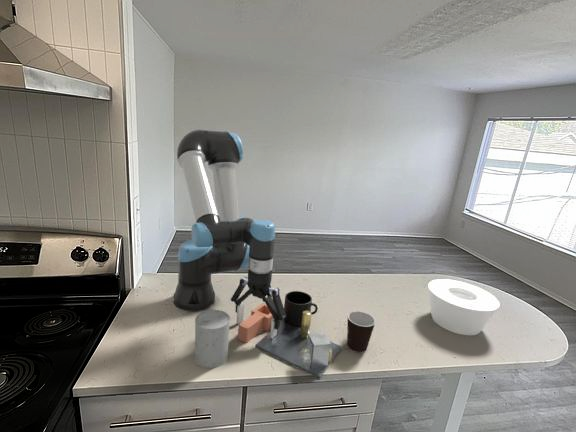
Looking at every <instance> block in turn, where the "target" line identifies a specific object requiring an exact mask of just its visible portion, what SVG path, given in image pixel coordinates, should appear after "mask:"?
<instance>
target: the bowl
mask: <svg viewBox="0 0 576 432" xmlns="http://www.w3.org/2000/svg"><path fill="white" fill-rule="evenodd" d="M427 285H428V294H429V295H428V296H429V305H430V314H431V318H432V320H433V322H435V323H436V324H437V325H438V326H440V327H441V328H443V329H445V330H447V331H449V332H451V333H455V334H458V335H462V336H476V335H479V334H480V333H481V332H482V331H483V329H484V327H486V325H487V323H488V322H489V321H490V320H491V318H492V317H493V316H494V314H495V313H496V312H497V310H498V309H499V307H500V304H501V303H500V301H499V300H498V299H497V298H496V296H495V295H494V294H492V293H490V292H489V291H487V290H484V288H481V287H479V286H476V285H473V284H470V283H467V282H464V281H460V280H455V279H447V278H445V279H444V278H440V279H439V278H437V279H432V280H431V281H430V282H428V284H427Z"/></svg>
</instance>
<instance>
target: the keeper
mask: <svg viewBox="0 0 576 432" xmlns="http://www.w3.org/2000/svg"><path fill="white" fill-rule="evenodd" d="M308 338H309V340H310V342H311V344H312V346H313V347H312V355H311V363H310V366H311V368H314V367H323V366H328V362H331V356H332V350H331V349H330V346H331V343H330V342H331V341H330V340H329V337H328V336H327V334H326V333H325V332H323V331H321V332H320V331H319V332H309V333H308ZM329 341H330V342H329ZM331 363H332V362H331ZM328 367H329V366H328Z"/></svg>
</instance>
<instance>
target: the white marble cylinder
mask: <svg viewBox="0 0 576 432" xmlns="http://www.w3.org/2000/svg"><path fill="white" fill-rule="evenodd" d="M230 321H231V316H230V315H229V314H228V313H227V312H226V311H223V310H220V309H208V310H203V311H202V312H199V313H198V314H197V315H196V317H195V320H194V322H195V325H194V326H195V328H194V335H195V336H194V356H193V357H194V361H195V363H196V364H197V365H198V366H200V367H201V368H202V367H203V368H206V369H207V368H208V369H211V368H213V369H214V368H217V367H219V366H222V365H223V364H225V363H226V362H227V360H228V357H229V343H230V342H229V339H230V338H229V337H230Z"/></svg>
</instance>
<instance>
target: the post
mask: <svg viewBox="0 0 576 432" xmlns="http://www.w3.org/2000/svg"><path fill="white" fill-rule="evenodd" d="M311 312H312V311H311ZM311 312H310V311H303V315H302V324H301V327H300V329H301V333H300V336H301V337H302V338H308V333H310V329H311V321H312V315H311Z"/></svg>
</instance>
